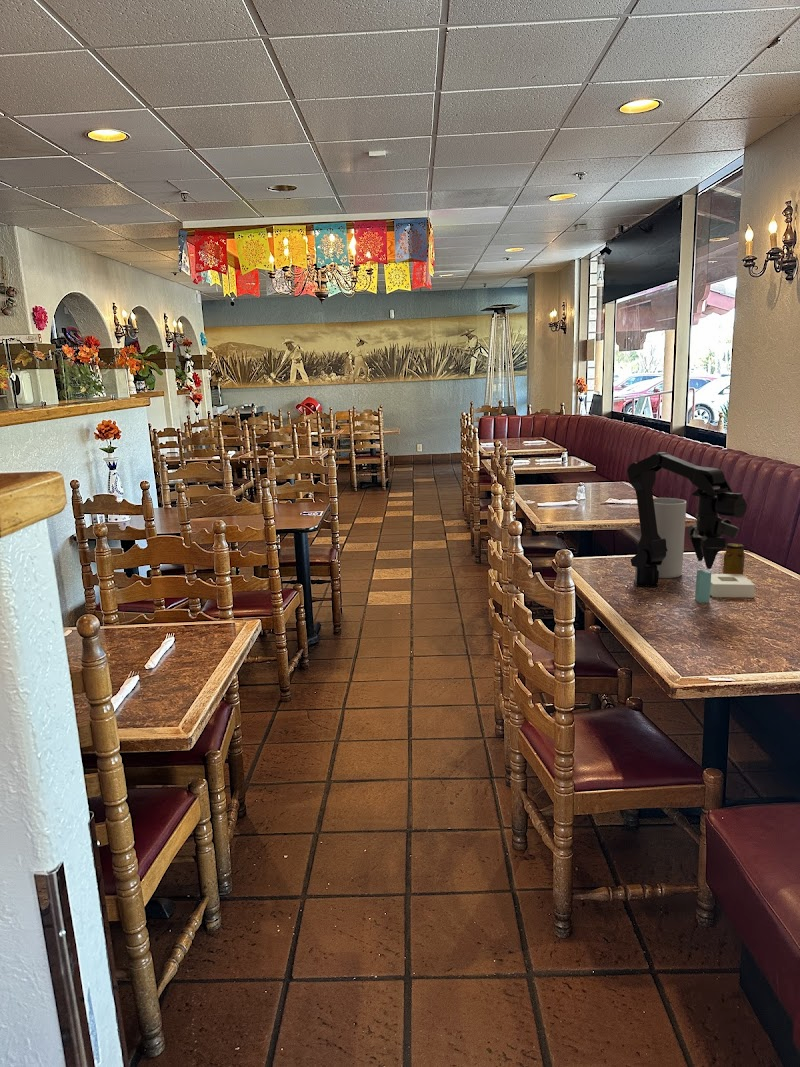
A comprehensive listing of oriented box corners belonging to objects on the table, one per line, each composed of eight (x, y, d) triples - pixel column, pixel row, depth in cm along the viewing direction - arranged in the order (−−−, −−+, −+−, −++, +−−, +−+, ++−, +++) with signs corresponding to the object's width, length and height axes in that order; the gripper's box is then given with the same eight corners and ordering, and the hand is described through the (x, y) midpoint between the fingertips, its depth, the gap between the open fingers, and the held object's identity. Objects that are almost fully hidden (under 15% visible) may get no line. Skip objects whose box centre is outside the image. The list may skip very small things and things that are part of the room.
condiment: (727, 576, 243) (730, 541, 240) (753, 581, 236) (756, 545, 234) (716, 580, 238) (719, 544, 236) (742, 586, 232) (745, 549, 229)
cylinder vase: (677, 569, 253) (681, 497, 247) (685, 579, 241) (690, 504, 235) (639, 568, 255) (643, 497, 249) (646, 578, 242) (650, 504, 237)
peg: (697, 602, 217) (699, 572, 215) (695, 599, 220) (697, 570, 218) (709, 602, 216) (711, 573, 214) (706, 599, 219) (708, 570, 217)
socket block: (712, 596, 221) (713, 584, 220) (701, 585, 233) (702, 573, 232) (754, 597, 220) (755, 584, 219) (741, 586, 231) (741, 574, 231)
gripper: (748, 519, 202) (743, 573, 206) (727, 506, 220) (723, 557, 224) (706, 518, 204) (702, 573, 207) (688, 506, 222) (685, 556, 225)
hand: (704, 564), depth 216 cm, fingers open, 9 cm apart
